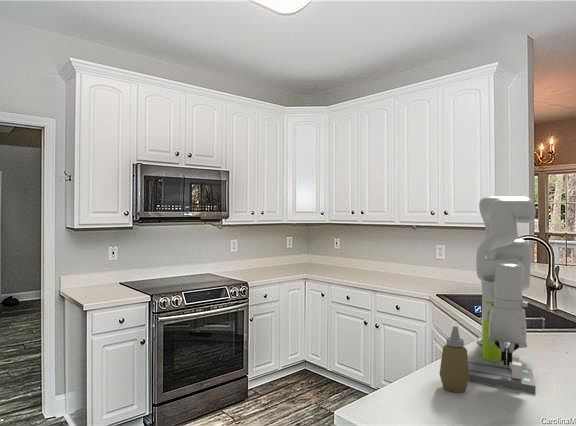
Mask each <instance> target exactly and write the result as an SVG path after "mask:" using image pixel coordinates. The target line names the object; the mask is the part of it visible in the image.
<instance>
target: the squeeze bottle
mask: <svg viewBox="0 0 576 426" xmlns="http://www.w3.org/2000/svg"><path fill="white" fill-rule="evenodd" d="M468 356H469V355H468V349H467V348H466V347H465V342H464V339H463V338H460V333H459V327H458V326H455V325H453V327H452V329H451V334H450V337H447V338H446V344H445V345H443V347H442V352H441V359H440V367H439V377H440V380H441V383H442V386H443V389H445V390H446V391H449V392H452V393H464V392H466V388H467V386H468V384H469V382H470V381H469V367H468V359H469V358H468Z"/></svg>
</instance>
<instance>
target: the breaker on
mask: <svg viewBox="0 0 576 426" xmlns="http://www.w3.org/2000/svg"><path fill="white" fill-rule="evenodd" d="M512 361H513V362H519V363H520V355H519V354H513V353H512ZM509 365H510V369H511V370H512V362H509Z"/></svg>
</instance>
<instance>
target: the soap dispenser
mask: <svg viewBox="0 0 576 426" xmlns="http://www.w3.org/2000/svg"><path fill="white" fill-rule="evenodd" d="M485 303H488V304H490V311H491V307H492V306H494V302H491V301H485ZM490 311H487V320H484V321H483V345H482V358H483V360H487V361H488V362H500V361H501V350H500V349H499V348H498V347H497V346H496V345H495V344H492V343H490V342H488V341H487V340H488V336H489V318H490Z"/></svg>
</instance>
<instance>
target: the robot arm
mask: <svg viewBox="0 0 576 426" xmlns="http://www.w3.org/2000/svg"><path fill="white" fill-rule="evenodd" d="M478 205H479V206H478V208H479V213H480V216H481V218H482V220H483V223H484V227H485V228H484V229H485V231H484V232H485V233H484V234H485V237H484V239H483V240H482V241H481V243H480V244H479V246H478V248H477V250H476V255H475V256H476V257H475V259H476V260H475V261H476V262H475V263H476V264H475V265H476V266H475V267H476V276H477V278H478V279H479V280H480V283H481V292H482V293H481V294H482V295H481V298H482V299H481V300H482V301H481V305H482V306H481V336H480V337H478V338H477V339H476V340H477V341H476V342H477V343H478V344H479V345H482V346H483V321H484V320H487V311H490V304H488V303H485V301H491V302H494V306H492V307H491V311H490V318H489V336H488V340H487V341H488V342H490V343H492V344H495V345H496V346H497V347H498V348H499V349H500V350H501V360H500V361H501V362H503V364H504V365H508V366H509V365H510V362H512V354H513V353H514V352H515V351H516V350H518V349H523V348H525V349H526V348H527V347H528V344H527V319H526V317H527V316H526V310H525V309H524V308H525V307H528V302H527V301H524V300H523V292H524V291H527V290H528V289H529V287H530V283H531V282H530V281H531V259H532V258H531V256H532V255H531V251H532V250H531V246H530V243H529V242H528V241H527V240H525V239H522V238H521V239H520V238H518V236H519V235H518V234H519V231H518V226H517V225H518V224H519V223H522V224H526V223H527V224H530V223H533V222H534V220H535V219H536V207H535V206H536V205H535V203H534V201H533V200H532V199H531V198H530V197H528V196H503V195H502V196H500V195H499V196H498V195H496V196H493V195H492V196H486V197H483V198H481V199H480V200H479V203H478Z"/></svg>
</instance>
